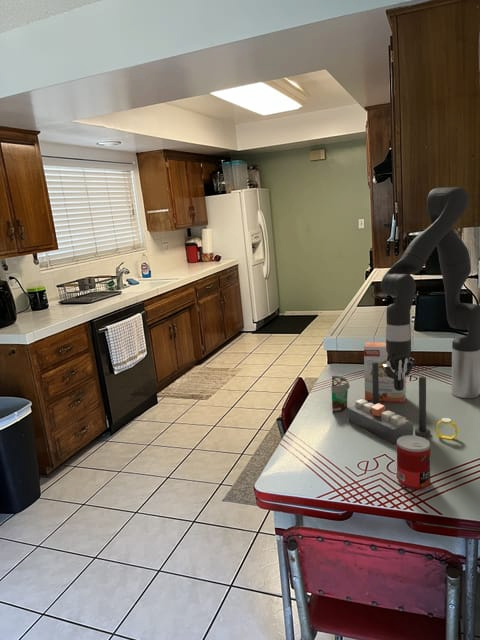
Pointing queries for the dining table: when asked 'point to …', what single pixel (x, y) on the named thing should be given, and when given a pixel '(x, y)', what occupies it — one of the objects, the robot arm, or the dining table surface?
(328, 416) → the dining table surface
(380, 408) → the breaker paddle
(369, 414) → the breaker strip
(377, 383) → the stand
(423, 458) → the canned food
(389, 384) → the cracker box
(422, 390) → the stand
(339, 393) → the food container
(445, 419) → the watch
